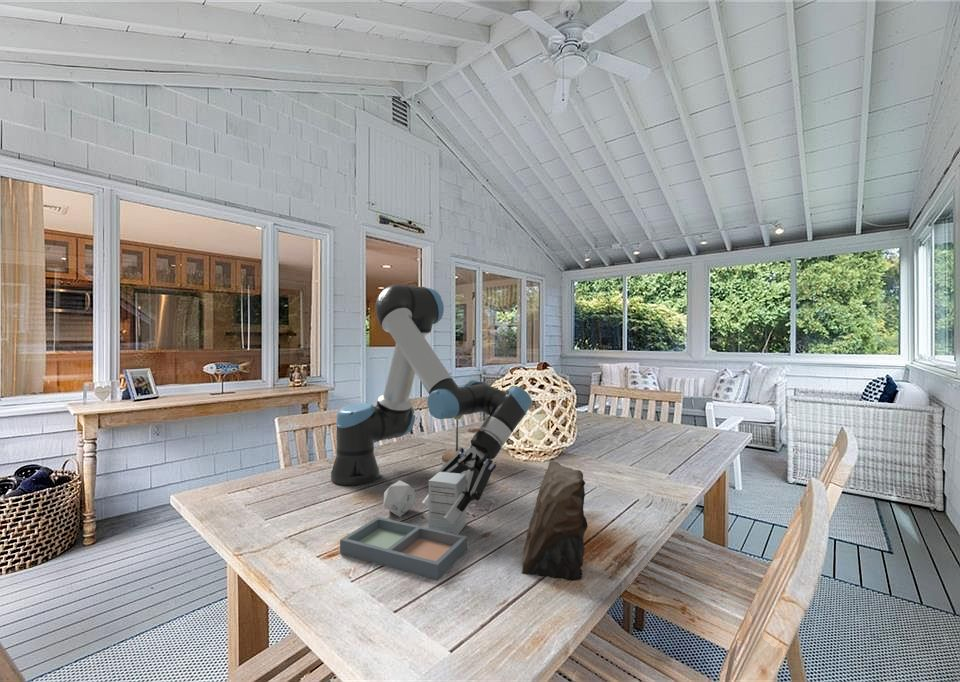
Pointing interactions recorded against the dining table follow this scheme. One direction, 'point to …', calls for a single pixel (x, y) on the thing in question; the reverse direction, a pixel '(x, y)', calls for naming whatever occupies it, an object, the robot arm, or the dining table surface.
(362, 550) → the sorting tray
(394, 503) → the die
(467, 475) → the lidded jar
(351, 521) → the dining table surface
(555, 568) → the brown rock
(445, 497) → the supplement box
